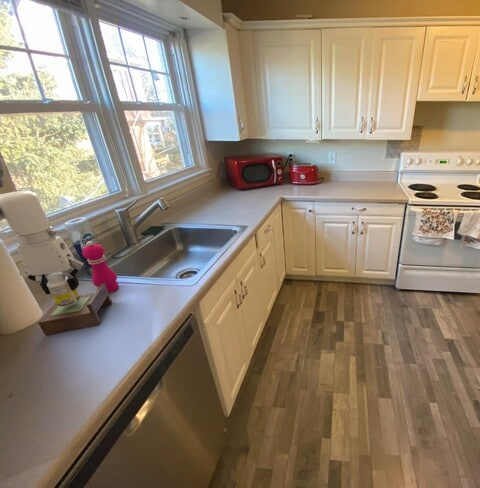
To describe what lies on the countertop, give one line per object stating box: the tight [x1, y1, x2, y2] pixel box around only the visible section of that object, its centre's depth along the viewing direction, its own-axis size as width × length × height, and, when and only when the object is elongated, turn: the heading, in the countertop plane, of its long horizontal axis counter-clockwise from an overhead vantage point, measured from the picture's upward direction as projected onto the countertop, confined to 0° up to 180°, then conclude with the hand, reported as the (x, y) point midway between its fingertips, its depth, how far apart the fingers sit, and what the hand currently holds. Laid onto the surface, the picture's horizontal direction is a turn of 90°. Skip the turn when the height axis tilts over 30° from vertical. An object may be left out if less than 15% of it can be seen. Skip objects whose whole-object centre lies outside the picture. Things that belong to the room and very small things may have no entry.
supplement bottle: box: [46, 272, 80, 307], centre depth 86 cm, size 6×6×10 cm
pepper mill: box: [81, 240, 120, 294], centre depth 101 cm, size 7×7×20 cm
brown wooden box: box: [37, 284, 113, 336], centre depth 89 cm, size 14×12×8 cm
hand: (62, 289), depth 86 cm, fingers closed on supplement bottle, 5 cm apart
